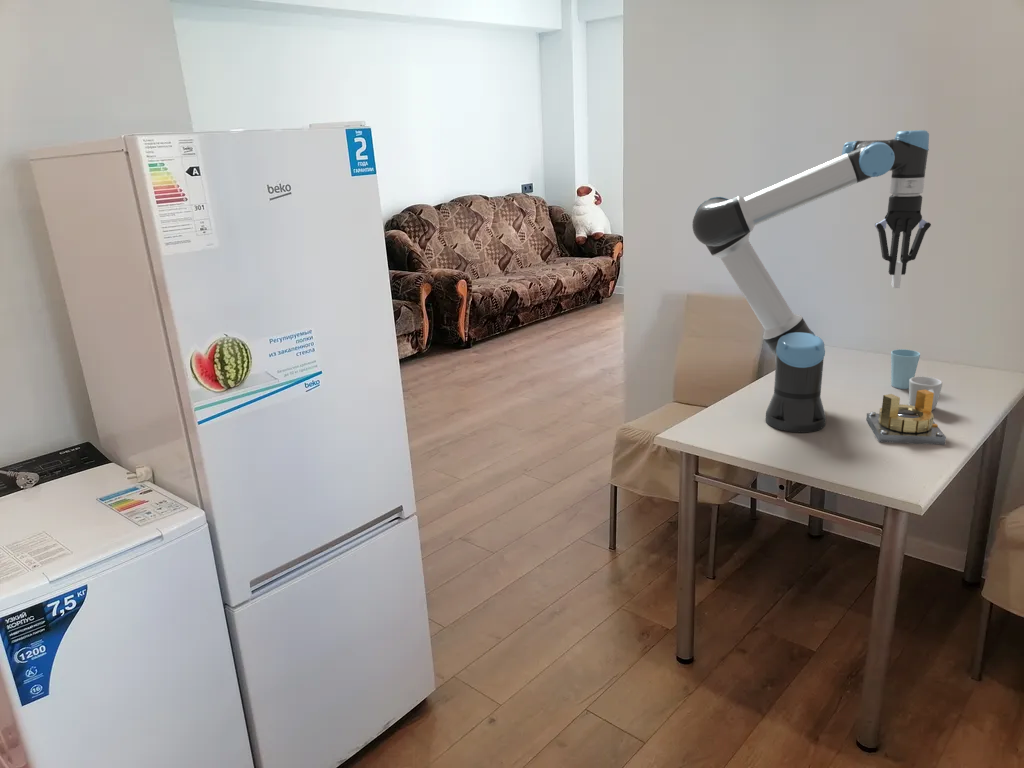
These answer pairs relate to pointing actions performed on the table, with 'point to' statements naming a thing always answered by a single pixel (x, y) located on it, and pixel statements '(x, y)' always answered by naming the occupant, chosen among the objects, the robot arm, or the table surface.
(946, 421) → the table surface
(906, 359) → the cup
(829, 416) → the table surface
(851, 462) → the table surface
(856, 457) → the table surface
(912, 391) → the cup
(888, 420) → the ring nut
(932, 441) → the flange
